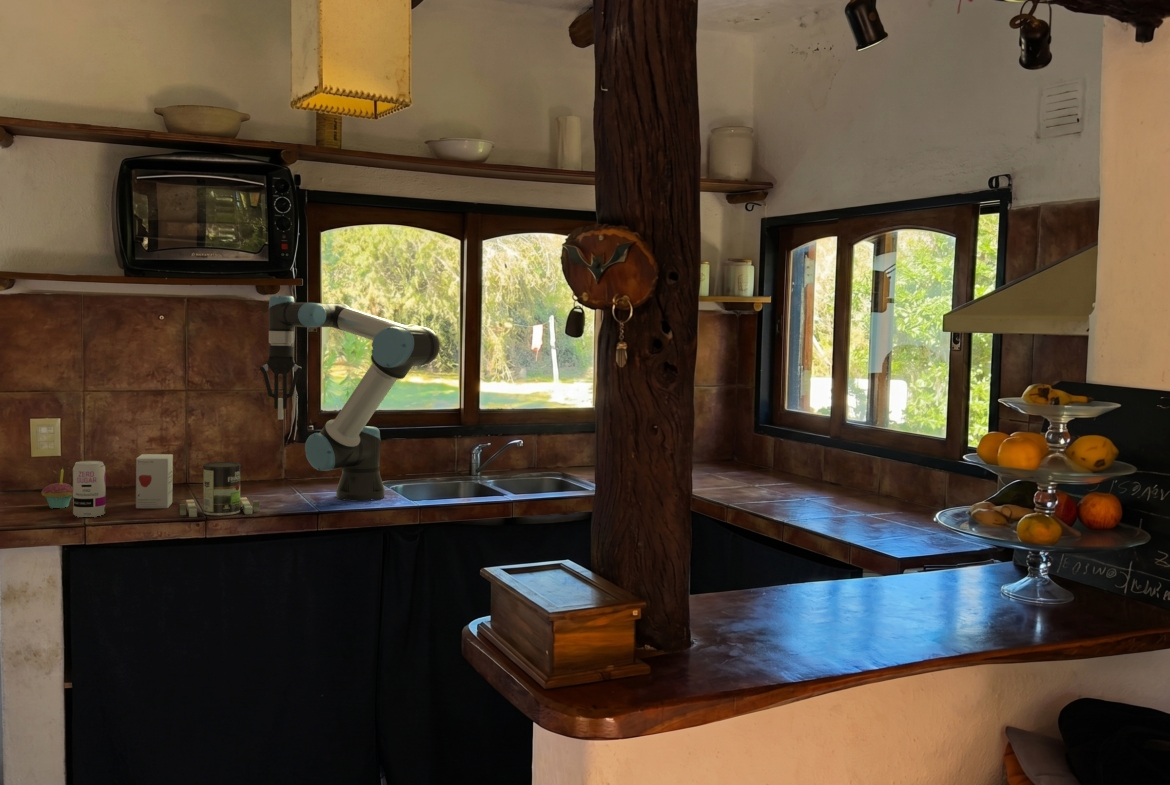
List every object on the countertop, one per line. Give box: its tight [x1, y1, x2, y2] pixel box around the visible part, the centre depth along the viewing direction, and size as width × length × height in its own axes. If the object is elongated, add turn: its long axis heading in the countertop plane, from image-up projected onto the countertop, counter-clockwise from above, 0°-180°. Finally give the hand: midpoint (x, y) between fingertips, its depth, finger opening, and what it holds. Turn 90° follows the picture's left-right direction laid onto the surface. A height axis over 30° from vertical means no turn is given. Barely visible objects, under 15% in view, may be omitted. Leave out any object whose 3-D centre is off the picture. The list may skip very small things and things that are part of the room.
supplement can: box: [72, 460, 107, 518], centre depth 287 cm, size 8×8×15 cm
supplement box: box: [135, 453, 174, 509], centre depth 303 cm, size 9×9×15 cm
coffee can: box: [202, 461, 242, 516], centre depth 297 cm, size 10×10×14 cm
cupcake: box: [40, 466, 73, 509], centre depth 297 cm, size 9×8×12 cm
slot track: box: [179, 496, 260, 518], centre depth 300 cm, size 16×22×3 cm
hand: (280, 419), depth 325 cm, fingers closed
